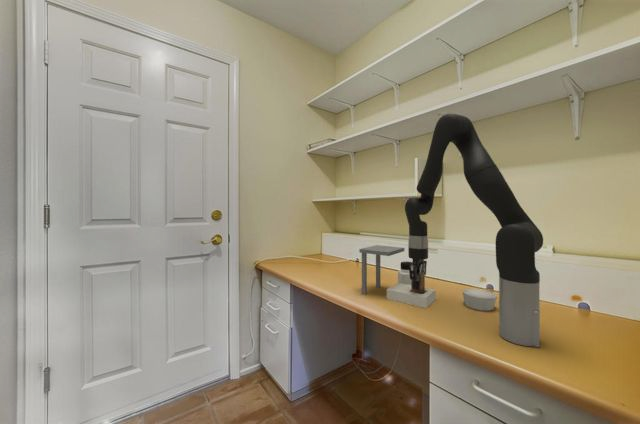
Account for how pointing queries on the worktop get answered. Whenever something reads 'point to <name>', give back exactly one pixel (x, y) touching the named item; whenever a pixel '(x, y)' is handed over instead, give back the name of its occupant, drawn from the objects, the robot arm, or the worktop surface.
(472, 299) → the ramekin
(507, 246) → the robot arm
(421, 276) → the peg
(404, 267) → the medicine bottle
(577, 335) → the worktop surface
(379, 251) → the grey miniature table
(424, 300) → the socket block
